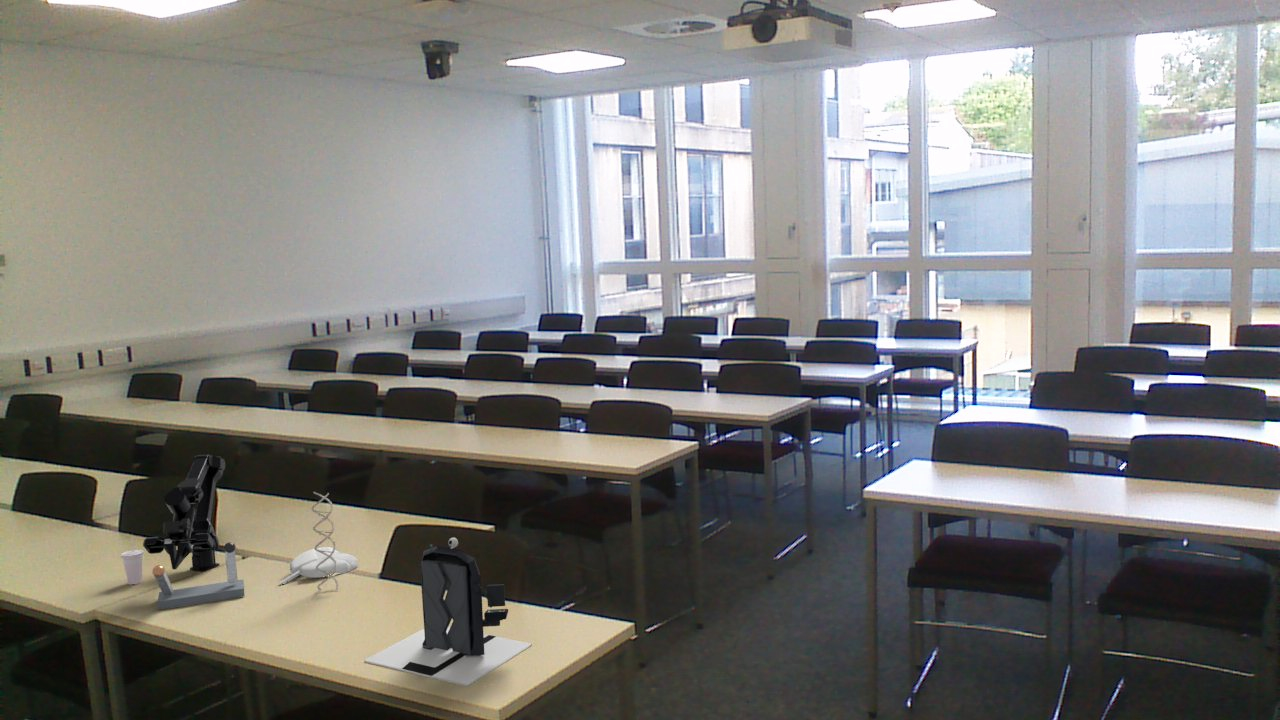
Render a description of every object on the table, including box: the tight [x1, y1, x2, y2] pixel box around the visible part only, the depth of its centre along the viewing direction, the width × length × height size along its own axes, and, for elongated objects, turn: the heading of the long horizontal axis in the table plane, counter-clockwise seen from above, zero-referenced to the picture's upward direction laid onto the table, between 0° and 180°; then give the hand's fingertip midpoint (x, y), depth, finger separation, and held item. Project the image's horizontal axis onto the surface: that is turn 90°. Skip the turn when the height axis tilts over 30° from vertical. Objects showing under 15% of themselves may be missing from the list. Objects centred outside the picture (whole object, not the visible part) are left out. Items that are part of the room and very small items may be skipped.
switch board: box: [156, 578, 245, 611], centre depth 285 cm, size 9×23×2 cm, turn 113°
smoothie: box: [120, 538, 145, 586], centre depth 301 cm, size 6×6×14 cm
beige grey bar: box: [223, 542, 239, 584], centre depth 288 cm, size 3×3×12 cm
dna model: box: [311, 491, 339, 591], centre depth 287 cm, size 7×6×30 cm
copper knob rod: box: [151, 564, 175, 596], centre depth 277 cm, size 3×3×12 cm
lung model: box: [278, 546, 359, 585], centre depth 305 cm, size 7×17×25 cm
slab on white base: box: [364, 537, 533, 687], centre depth 238 cm, size 32×25×28 cm
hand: (174, 568), depth 287 cm, fingers closed
